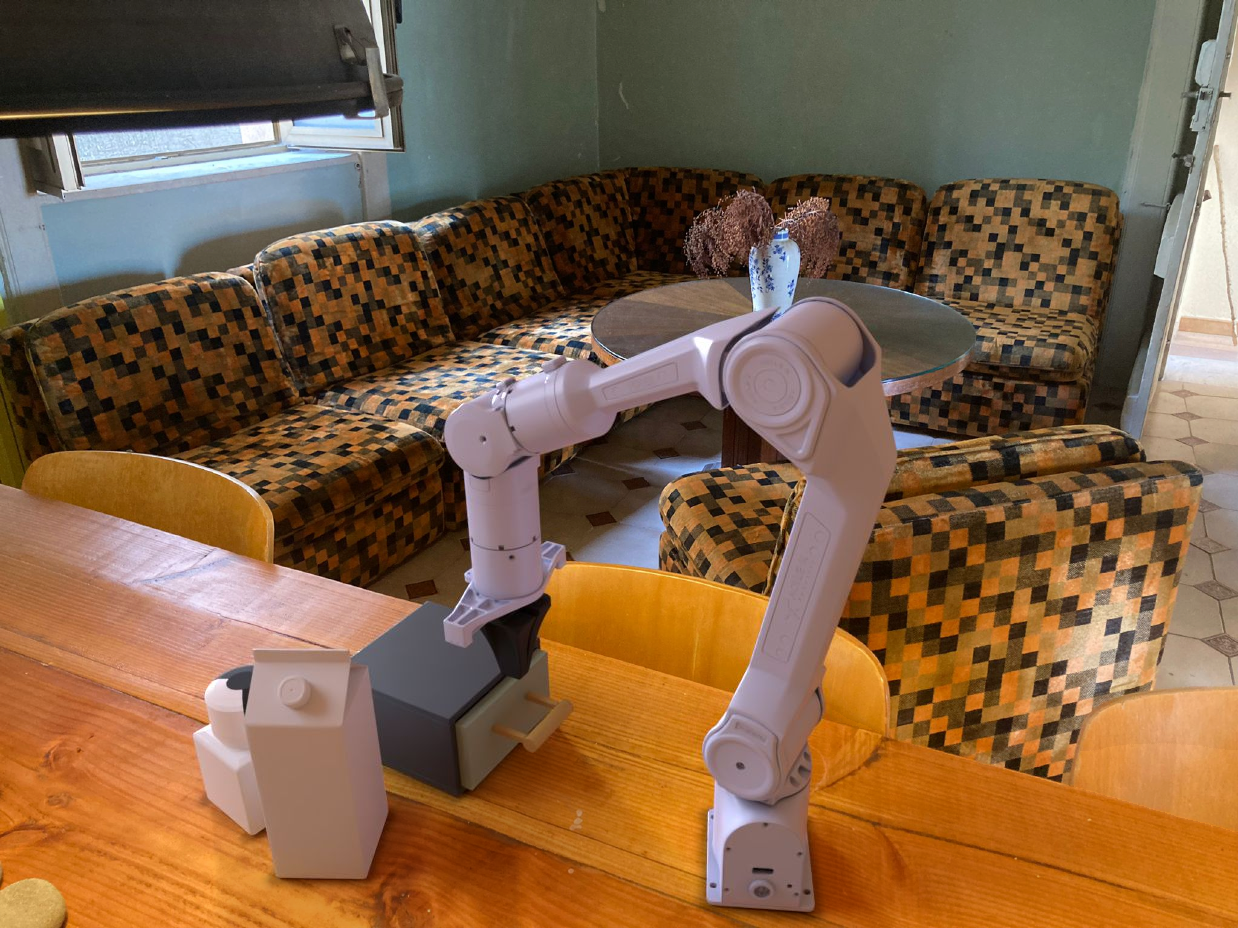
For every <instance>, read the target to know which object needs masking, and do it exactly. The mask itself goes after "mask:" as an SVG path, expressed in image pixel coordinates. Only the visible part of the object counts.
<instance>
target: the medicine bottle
mask: <svg viewBox="0 0 1238 928" xmlns="http://www.w3.org/2000/svg"><path fill="white" fill-rule="evenodd" d="M253 668H254V664H246V665H241V666H237V667H234V668H232V669H229V670H227V671H224V672H223V673H221V674H220V675H218V676H216V678H214V679H213V680H212V682H210V684H209V685H208V686H207V688H206V690H205V693H204V696H203V697H204V703H205V707H206V711H207V715H208V719H209V724H207V725H205V726H204V727H202V728H200V729H199V730H197V731H195V732H193V734H192V740H193V744H194V749H195V752H196V758H197V761H198V766H199V769H200V773H201V777H202V781H203V786H204V789H205V794H206V797H207V799H208V800H209V801H210V802H211V803H212V804H213V805H215V806H216V807H217V808H218V809H219V810H221V811H222V812H223V813H224V814H225V815H226V816H227V817H228V818H230V819H231V820H232V821H233V822H234V823H236V824H237V825H238V826H239V827H240V828H241V829H243V830H244V831H245V832H246V833H247V834H248V835H249V836H255V835H257V834H258V833H260V832H261V831H262V830H265V829H266V826H265V821H264V816H263V812H262V807H261V802H260V798H259V793H258V788H257V783H256V779H255V774H254V769H253V765H252V760H251V755H250V751H249V746H248V741H247V736H246V731H245V725H244V719H245V713H246V708H247V702H248V696H249V691H250V685H251V679H252V674H253Z"/></svg>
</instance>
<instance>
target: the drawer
mask: <svg viewBox="0 0 1238 928" xmlns="http://www.w3.org/2000/svg"><path fill="white" fill-rule="evenodd" d="M548 653H549V652H548V651H546V650H543V649H541V650H540V649H536V650H535V651H534V652H533V655H532V660H531V664H530V668H529V671H528V673H527V674H526V675H525V676H524V677H523V678H522V679H520V680H518V679H515V678H512V677H509V676H506V675H505V676H504V677H503V678H502V679H501V680H499V681H498V682H497V683H496V684H495V685H494V686H493V687H492V688H491V689H490V690H489V693H488V694H487V695H486V696H485V697H484V698H483V699H481V700H480V701H479V702H478V703H477V704H476V705H475V706H474V707H473V708H472V709H471V710H469V711H468V712H467V713H466V714H465V715H464V716H463V717H462V718H461V719H460V720H459V721H457V722H456V723H455V728H456V738H457V747H458V757H459V767H460V777H461V786H463V787H465V788H467V789H468V790H470V791H474V789H475V788H476V787H477V786H479V785H480V783H482V781H483V780H484V779H486V777H487V776H488V775H489V774H490V773H491V772H492V771H493V770H494V769H495V768H496V767H497V766H498V765H499V764H500V763H501V762H502V761H503V760H504V759H505V758H506V757H507V756H508V755H509V754H510V753H511V751H512V750H513V749H515V748H516V746H517V745H518V744H519V743H521V744H522V746H523V747H524V749H525V750H526V751H527V752H529V753H535V752H537V751H538V750H539V748H541V746H542V745H543V744H544V743H545V742H546V741H547V740H548V739H549V738H550V737H551V736H552V734H553V733H554V732H555V731H556V730H558V728H559V727H560V726H561V725H562V724H563V723H564V722H565V721H566V719H568V717H569V716H570V715H571V714H572V713H573V712H574V709H575V707H574V705H573V704H574V703H572V702H571V701H570V700H569V699H565V698H564V699H561V700H560V701H557V700H554V699H552V698H551V692H550V690H551V689H550V673H549V671H550V670H549V654H548Z"/></svg>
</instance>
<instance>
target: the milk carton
mask: <svg viewBox="0 0 1238 928" xmlns="http://www.w3.org/2000/svg"><path fill="white" fill-rule="evenodd" d="M252 654H253V655H252V656H253V661H254V663H253V665H254V668H253V674H252V679H251V685H250V691H249V696H248V702H247V708H246V713H245V719H244V725H245V731H246V736H247V741H248V746H249V751H250V755H251V760H252V765H253V769H254V774H255V779H256V783H257V788H258V793H259V798H260V802H261V807H262V812H263V816H264V821H265V826H266V827H265V830H266V835H267V840H268V844H269V849H270V854H271V857H272V862H273V868H274V872H275V876H276V877H277V878H279V879H281V878H283V879H336V880H337V879H338V880H348V879H349V880H366V879H367V877H368V874H369V871H370V869H371V865H372V862H373V859H374V856H375V853H376V850H377V847H378V844H379V841H380V838H381V835H382V832H383V829H384V826H385V823H386V820H387V817H388V814H389V804H388V798H387V797H388V796H387V790H386V784H385V776H384V769H383V765H382V761H381V754H380V747H379V740H378V733H377V726H376V719H375V712H374V705H373V698H372V691H371V684H370V677H369V670H368V666H365V665H361V664H358V663H355V662H351V657H352V656H351V651H350V649H349V648H285V647H284V648H282V647H281V648H277V647H276V648H272V647H271V648H268V647H265V648H263V647H253V648H252Z"/></svg>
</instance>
